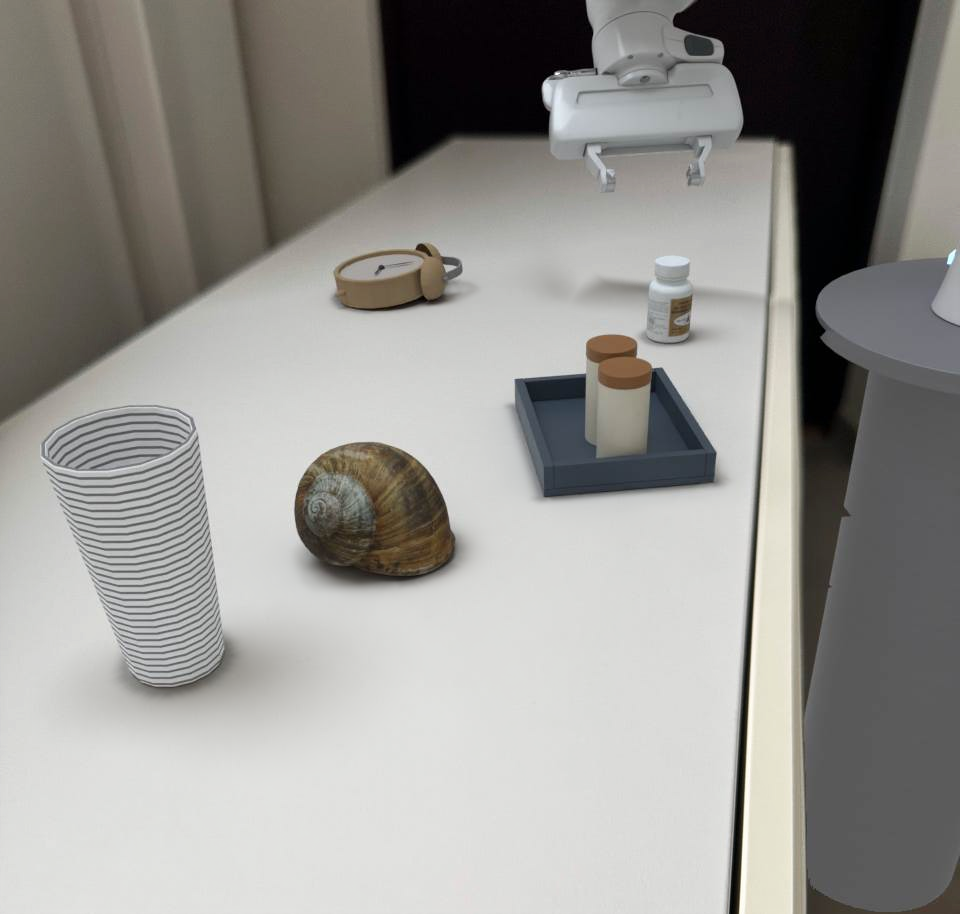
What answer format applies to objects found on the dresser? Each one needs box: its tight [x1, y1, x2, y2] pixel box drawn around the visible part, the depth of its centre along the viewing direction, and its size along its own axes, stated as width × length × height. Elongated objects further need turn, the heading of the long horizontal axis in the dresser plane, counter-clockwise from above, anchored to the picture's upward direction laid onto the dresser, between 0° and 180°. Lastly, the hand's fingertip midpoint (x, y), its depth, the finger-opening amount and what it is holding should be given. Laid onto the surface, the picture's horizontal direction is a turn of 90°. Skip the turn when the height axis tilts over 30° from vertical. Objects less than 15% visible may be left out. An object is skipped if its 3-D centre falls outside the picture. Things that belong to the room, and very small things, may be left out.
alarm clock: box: [332, 242, 464, 309], centre depth 123 cm, size 11×5×15 cm
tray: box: [514, 366, 718, 497], centre depth 89 cm, size 14×18×3 cm
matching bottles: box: [585, 333, 653, 458], centre depth 85 cm, size 4×9×8 cm, turn 6°
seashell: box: [293, 441, 456, 577], centre depth 74 cm, size 11×9×8 cm
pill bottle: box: [646, 255, 694, 344], centre depth 107 cm, size 4×4×8 cm
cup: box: [39, 404, 226, 688], centre depth 63 cm, size 8×8×16 cm
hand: (652, 186), depth 110 cm, fingers open, 8 cm apart
